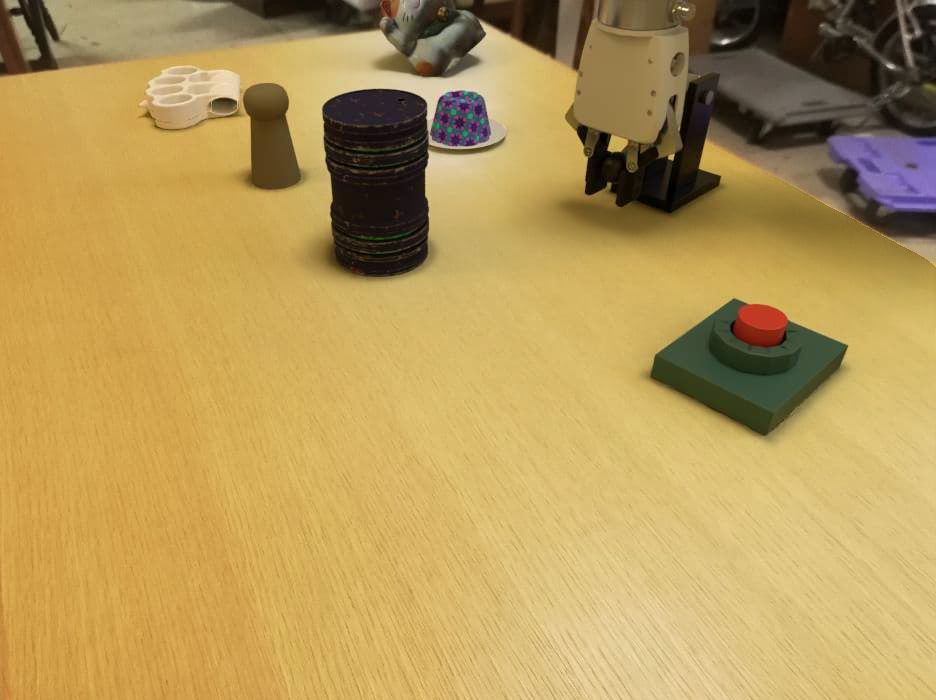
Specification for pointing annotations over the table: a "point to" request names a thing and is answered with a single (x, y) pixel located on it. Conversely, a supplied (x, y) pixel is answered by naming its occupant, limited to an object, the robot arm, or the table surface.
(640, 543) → the table surface
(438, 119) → the pudding
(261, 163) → the brown pawn
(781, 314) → the button
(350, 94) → the dark purple cylinder
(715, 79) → the bracket
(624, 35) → the robot arm
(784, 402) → the button box
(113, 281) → the table surface
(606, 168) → the lever
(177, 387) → the table surface
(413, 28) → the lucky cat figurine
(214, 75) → the white brass knuckles
